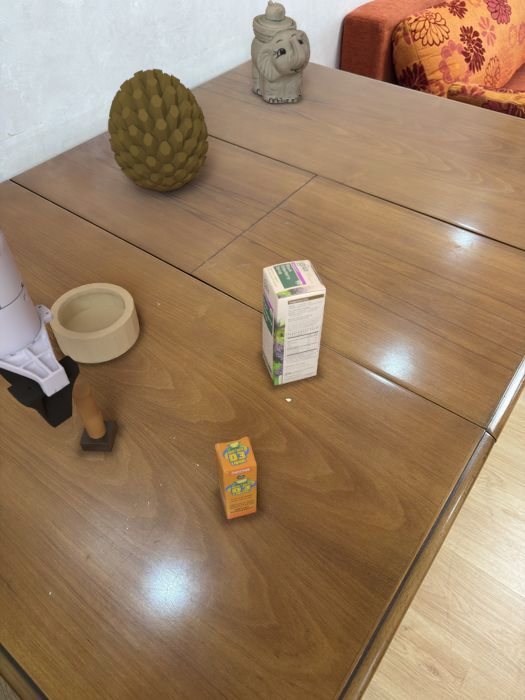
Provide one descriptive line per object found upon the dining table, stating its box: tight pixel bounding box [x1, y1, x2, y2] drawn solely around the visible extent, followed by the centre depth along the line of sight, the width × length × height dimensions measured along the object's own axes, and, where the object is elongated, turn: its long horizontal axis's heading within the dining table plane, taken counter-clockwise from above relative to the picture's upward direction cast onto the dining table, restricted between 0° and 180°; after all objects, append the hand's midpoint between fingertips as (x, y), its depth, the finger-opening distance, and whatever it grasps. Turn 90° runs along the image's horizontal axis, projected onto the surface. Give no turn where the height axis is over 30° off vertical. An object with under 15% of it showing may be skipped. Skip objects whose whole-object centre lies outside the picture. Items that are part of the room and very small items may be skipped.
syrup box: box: [261, 259, 327, 386], centre depth 63 cm, size 6×6×14 cm
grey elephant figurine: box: [250, 0, 311, 104], centre depth 120 cm, size 16×15×19 cm
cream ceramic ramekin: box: [48, 282, 140, 364], centre depth 71 cm, size 11×11×4 cm
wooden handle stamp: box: [72, 382, 118, 453], centre depth 58 cm, size 3×3×9 cm
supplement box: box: [214, 436, 258, 520], centre depth 52 cm, size 3×3×10 cm
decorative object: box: [107, 68, 209, 193], centre depth 92 cm, size 17×17×20 cm
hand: (39, 398), depth 52 cm, fingers open, 7 cm apart
